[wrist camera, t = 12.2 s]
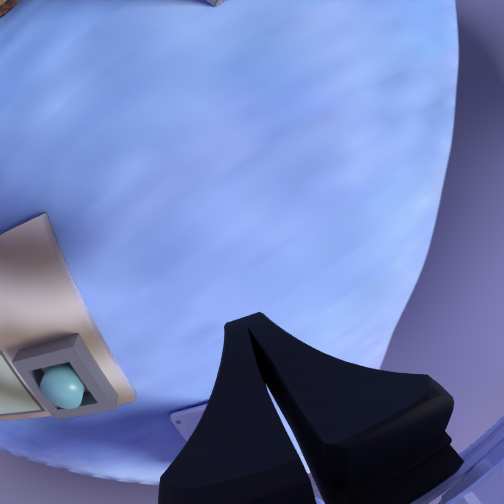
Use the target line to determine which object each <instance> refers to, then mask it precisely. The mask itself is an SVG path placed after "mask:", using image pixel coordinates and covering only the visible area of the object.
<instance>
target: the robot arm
mask: <svg viewBox="0 0 504 504" xmlns="http://www.w3.org/2000/svg"><path fill="white" fill-rule="evenodd" d="M266 385H267V386H268V388H269V390H270V392H271V394H272V396H273V397H274V399H275V401H276V403H277V405H278V406H279V408H280V410H281V412H282V414H283V415H284V417H285V419H286V421H287V422H288V424H289V426H290V428H291V430H292V432H293V434H294V436H295V438H296V440H297V442H298V445H299V447H300V449H301V451H302V454H303V456H304V458H305V460H306V463H307V465H308V467H309V469H310V472H311V474H312V476H313V478H314V481H315V482H316V485H317V487H318V490H319V492H320V494H321V496H322V499H323V501H322V500H320V499H318V498H317V497H315V496H314V492H313V489H312V485H311V481H310V479H309V477H308V474H307V472H306V470H305V468H304V465H303V463H302V461H301V459H300V457H299V455H298V453H297V451H296V449H295V447H294V446H293V444H292V442H291V440H290V438H289V436H288V434H287V432H286V430H285V428H284V426H283V423H282V421H281V419H280V417H279V415H278V413H277V411H276V409H275V407H274V404H273V402H272V400H271V398H270V396H269V393H268V390H267V387H266ZM453 407H454V400H453V397H452V396H451V395H450V394H449V393H448V392H447V391H446V390H445V389H444V388H443V387H442V386H441V385H440V384H439V383H437V382H436V381H435V380H433V379H432V378H431V377H429V376H428V375H424V374H407V373H396V372H389V371H383V370H377V369H372V368H368V367H364V366H360V365H357V364H353V363H349V362H346V361H343V360H340V359H337V358H335V357H332V356H330V355H328V354H325V353H323V352H321V351H319V350H317V349H315V348H313V347H311V346H309V345H307V344H305V343H304V342H302V341H300V340H298V339H297V338H295V337H294V336H292V335H291V334H289V333H288V332H286V331H285V330H283V329H282V328H280V327H279V326H278V325H276V324H275V323H274V322H272V321H271V320H270V319H269V318H268V317H266V316H265V315H264V314H263V313H261V312H258V313H255V314H252V315H249V316H246V317H243V318H240V319H237V320H234V321H231V322H228V323H226V324H225V326H224V346H223V352H222V358H221V363H220V367H219V371H218V374H217V378H216V382H215V385H214V388H213V391H212V394H211V396H210V399H209V401H208V404H204V405H200V406H197V407H193V408H189V409H185V410H181V411H177V412H173V413H171V414H170V420H171V421H172V423H173V424H174V425H175V427H176V428H177V430H178V431H179V432H180V434H181V435H182V436H183V438H184V439H185V440H186V442H187V443H186V444H185V446H184V447H183V449H182V450H181V452H180V453H179V455H178V456H177V457H176V458H175V460H174V461H173V462H172V463H171V465H170V466H169V467H168V468H167V470H166V471H165V472H164V473H163V475H162V476H161V477H160V484H159V496H158V504H428V503H430V502H431V501H433V500H434V499H436V498H437V497H439V496H440V495H441V494H442V493H444V492H446V491H447V490H448V489H449V490H448V491H447V492H446V493H445V494H444V495H442V498H441V501H440V502H439V503H438V504H504V416H503V417H502V418H501V419H500V420H499V421H497V422H496V423H495V424H494V425H493V426H492V427H491V428H490V429H489V430H488V431H486V433H484V434H483V435H482V436H481V437H480V438H478V439H477V440H476V441H475V442H474V443H472V444H471V445H470V446H469V447H468V448H466V449H465V450H464V451H463V452H461V453H460V454H459V455H458V454H457V452H456V451H455V450H454V449H453V448H452V447H451V445H450V443H451V442H452V439H451V437H450V436H448V434H447V433H446V432H445V430H446V427H447V425H448V422H449V419H450V417H451V414H452V411H453ZM177 420H179V421H177ZM451 487H452V488H451ZM450 488H451V489H450Z"/></svg>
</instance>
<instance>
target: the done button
mask: <svg viewBox="0 0 504 504" xmlns="http://www.w3.org/2000/svg"><path fill="white" fill-rule="evenodd" d="M40 388H41V391H42V393H43V395H44V396H45V397H46V399H47V400H49V401H50V402H51V403H52V404H54V405H56V406H58V407H61V408H65V409H74V408H77V407H78V406H79V405H80V404H81V401H82V397H83V393H84V389H85V384H84V383H83V382H82V380H81V379H80V377H79V376H78V374H77V373H76V371H75V370H74V368H73V367H72V365H71V364H70V362H66V363H62V364H57V365H53V366H49V367H47V369H46V371H45V373H44V376H43V378H42V380H41V383H40Z"/></svg>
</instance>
